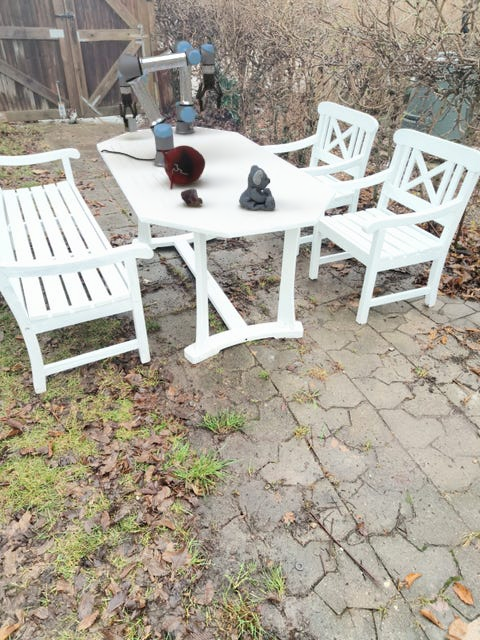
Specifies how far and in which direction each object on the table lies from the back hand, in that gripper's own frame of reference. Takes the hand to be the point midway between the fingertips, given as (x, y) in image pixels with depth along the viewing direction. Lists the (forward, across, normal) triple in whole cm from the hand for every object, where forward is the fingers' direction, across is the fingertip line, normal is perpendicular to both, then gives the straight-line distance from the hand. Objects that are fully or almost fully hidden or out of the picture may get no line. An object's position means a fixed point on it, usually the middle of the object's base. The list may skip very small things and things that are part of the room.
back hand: (130, 126), depth 344 cm
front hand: (-19, +23, -77) cm, 82 cm away
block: (+3, 0, 0) cm, 3 cm away
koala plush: (+10, -14, -172) cm, 173 cm away
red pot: (+10, -22, -116) cm, 119 cm away
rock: (+10, -40, -150) cm, 156 cm away
